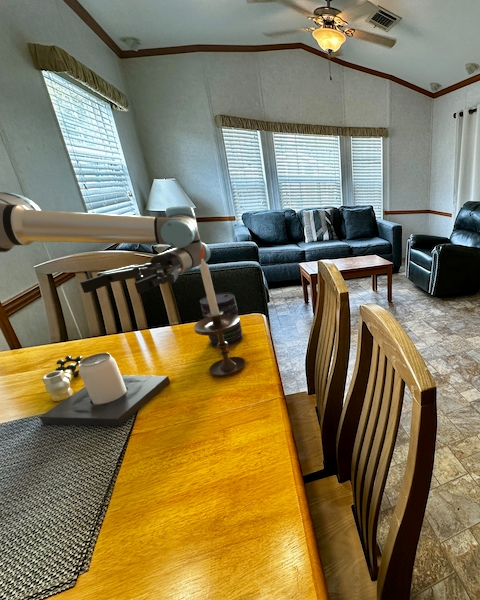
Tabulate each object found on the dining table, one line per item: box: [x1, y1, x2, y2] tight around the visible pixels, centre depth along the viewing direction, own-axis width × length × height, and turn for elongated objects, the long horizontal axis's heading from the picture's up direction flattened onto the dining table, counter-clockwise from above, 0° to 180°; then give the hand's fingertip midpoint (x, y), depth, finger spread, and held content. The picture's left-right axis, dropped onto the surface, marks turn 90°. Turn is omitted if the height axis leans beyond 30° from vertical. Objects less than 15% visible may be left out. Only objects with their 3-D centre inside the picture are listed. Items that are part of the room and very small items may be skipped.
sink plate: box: [39, 374, 171, 427], centre depth 80 cm, size 18×16×2 cm
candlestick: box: [193, 247, 246, 378], centre depth 86 cm, size 11×11×35 cm
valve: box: [41, 354, 83, 402], centre depth 83 cm, size 7×7×12 cm
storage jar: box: [199, 292, 244, 348], centre depth 105 cm, size 10×10×15 cm
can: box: [78, 352, 127, 404], centre depth 78 cm, size 6×6×12 cm
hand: (110, 288), depth 79 cm, fingers open, 13 cm apart
